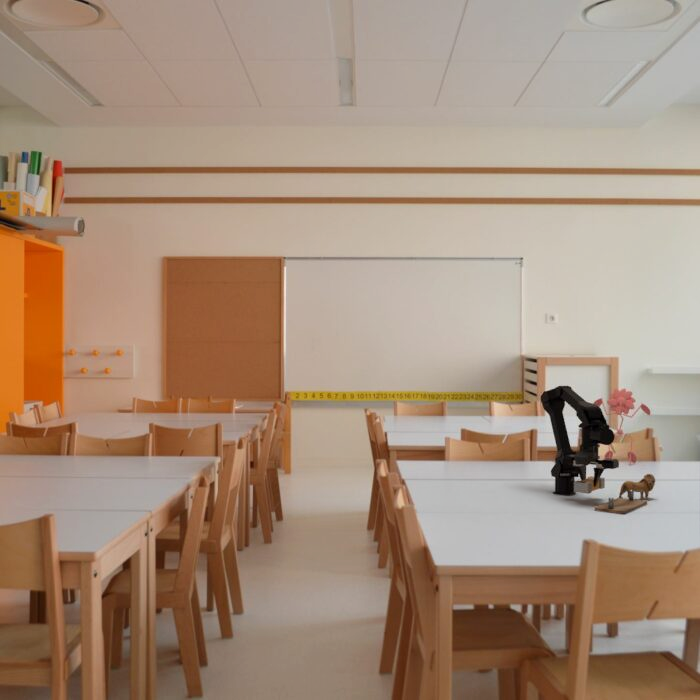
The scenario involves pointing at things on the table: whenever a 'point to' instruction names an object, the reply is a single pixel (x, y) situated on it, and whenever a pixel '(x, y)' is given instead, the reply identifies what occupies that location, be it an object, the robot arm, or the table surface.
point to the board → (621, 505)
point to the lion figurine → (639, 486)
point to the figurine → (621, 403)
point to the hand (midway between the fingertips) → (589, 486)
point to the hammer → (588, 485)
